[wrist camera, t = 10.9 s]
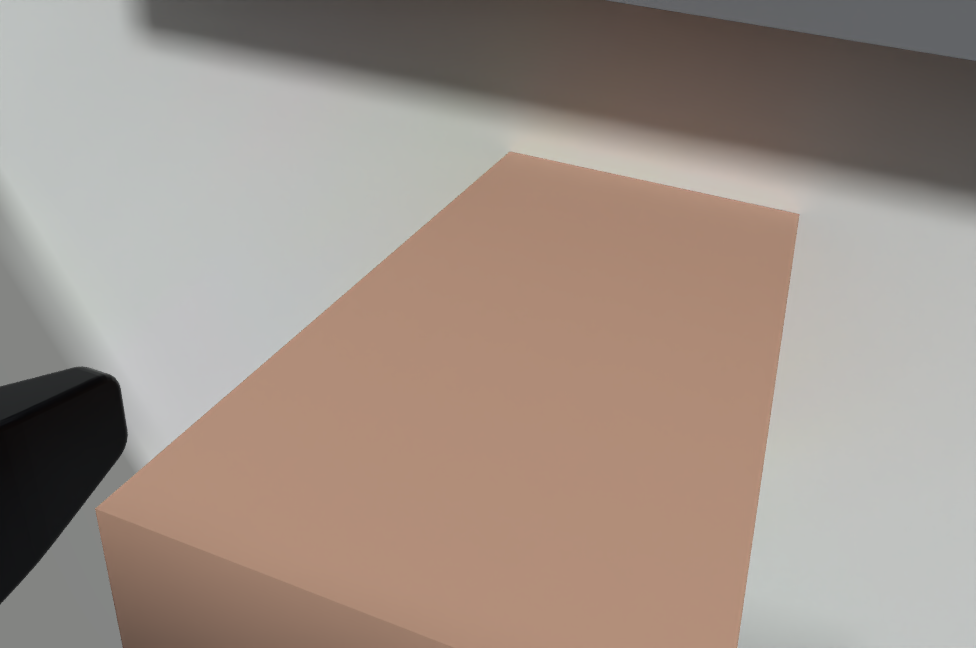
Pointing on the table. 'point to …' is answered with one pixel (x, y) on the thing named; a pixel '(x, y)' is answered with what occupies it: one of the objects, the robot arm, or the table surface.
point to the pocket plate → (852, 20)
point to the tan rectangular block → (485, 438)
